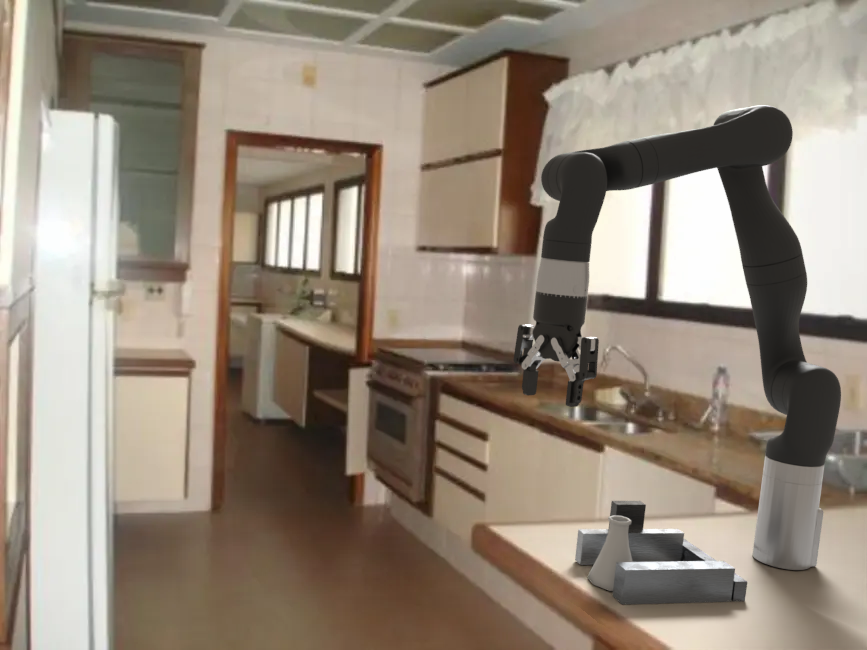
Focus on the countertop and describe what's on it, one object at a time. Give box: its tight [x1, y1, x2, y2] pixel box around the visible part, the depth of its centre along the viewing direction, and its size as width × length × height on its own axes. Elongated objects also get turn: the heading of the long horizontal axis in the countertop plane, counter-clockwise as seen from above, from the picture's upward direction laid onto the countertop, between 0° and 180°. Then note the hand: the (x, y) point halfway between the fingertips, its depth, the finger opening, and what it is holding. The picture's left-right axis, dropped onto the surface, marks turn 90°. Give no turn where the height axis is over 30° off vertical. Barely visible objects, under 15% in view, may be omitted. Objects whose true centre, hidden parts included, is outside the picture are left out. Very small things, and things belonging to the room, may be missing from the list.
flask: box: [586, 515, 633, 592], centre depth 141 cm, size 7×7×10 cm
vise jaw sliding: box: [574, 500, 685, 566], centre depth 151 cm, size 17×4×9 cm, turn 105°
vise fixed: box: [612, 538, 748, 605], centre depth 145 cm, size 20×19×5 cm
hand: (550, 400), depth 141 cm, fingers open, 8 cm apart
